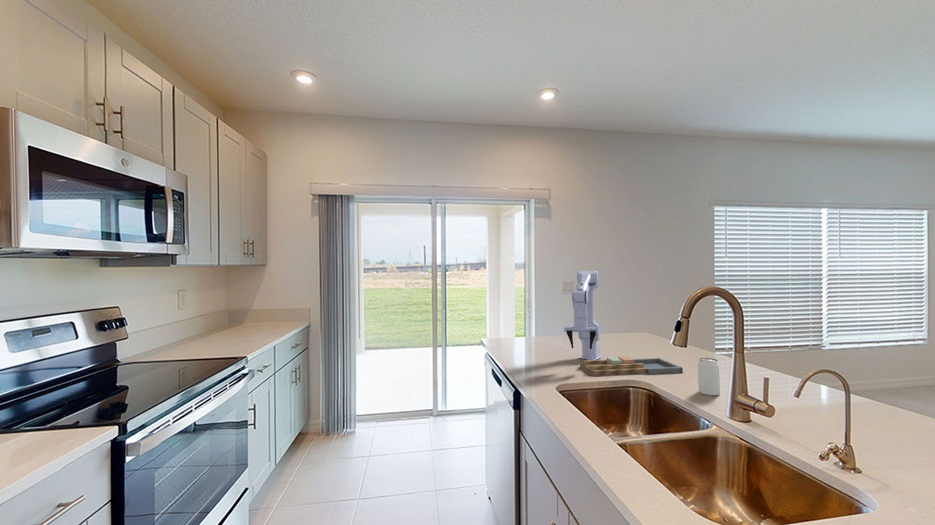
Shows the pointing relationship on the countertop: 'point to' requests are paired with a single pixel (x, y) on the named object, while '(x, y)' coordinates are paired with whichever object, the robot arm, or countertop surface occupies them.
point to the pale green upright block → (613, 360)
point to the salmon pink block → (626, 360)
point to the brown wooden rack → (611, 368)
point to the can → (708, 376)
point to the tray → (659, 366)
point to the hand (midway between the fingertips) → (581, 348)
